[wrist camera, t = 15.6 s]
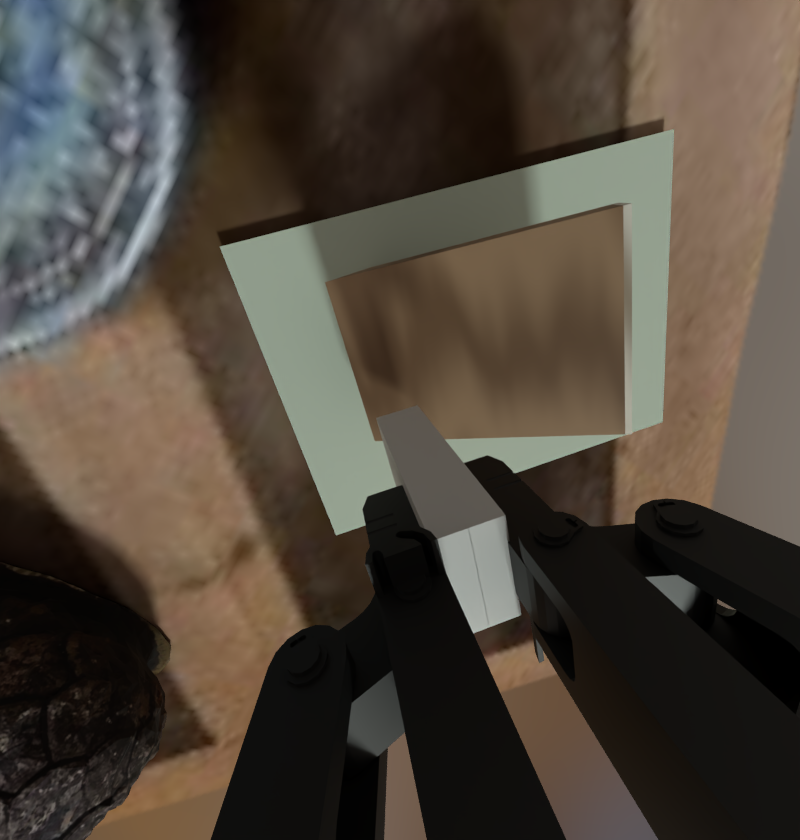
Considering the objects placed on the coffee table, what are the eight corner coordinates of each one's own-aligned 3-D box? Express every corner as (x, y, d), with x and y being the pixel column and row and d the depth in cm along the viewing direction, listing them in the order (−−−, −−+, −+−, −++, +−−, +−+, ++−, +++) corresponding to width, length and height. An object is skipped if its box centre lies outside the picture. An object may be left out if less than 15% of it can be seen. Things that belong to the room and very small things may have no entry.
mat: (222, 247, 17) (219, 246, 16) (663, 133, 19) (674, 128, 18) (335, 529, 23) (336, 535, 22) (654, 418, 25) (662, 422, 25)
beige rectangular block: (324, 282, 14) (631, 203, 10) (370, 267, 18) (618, 202, 13) (374, 441, 17) (632, 434, 13) (406, 403, 20) (620, 387, 16)
